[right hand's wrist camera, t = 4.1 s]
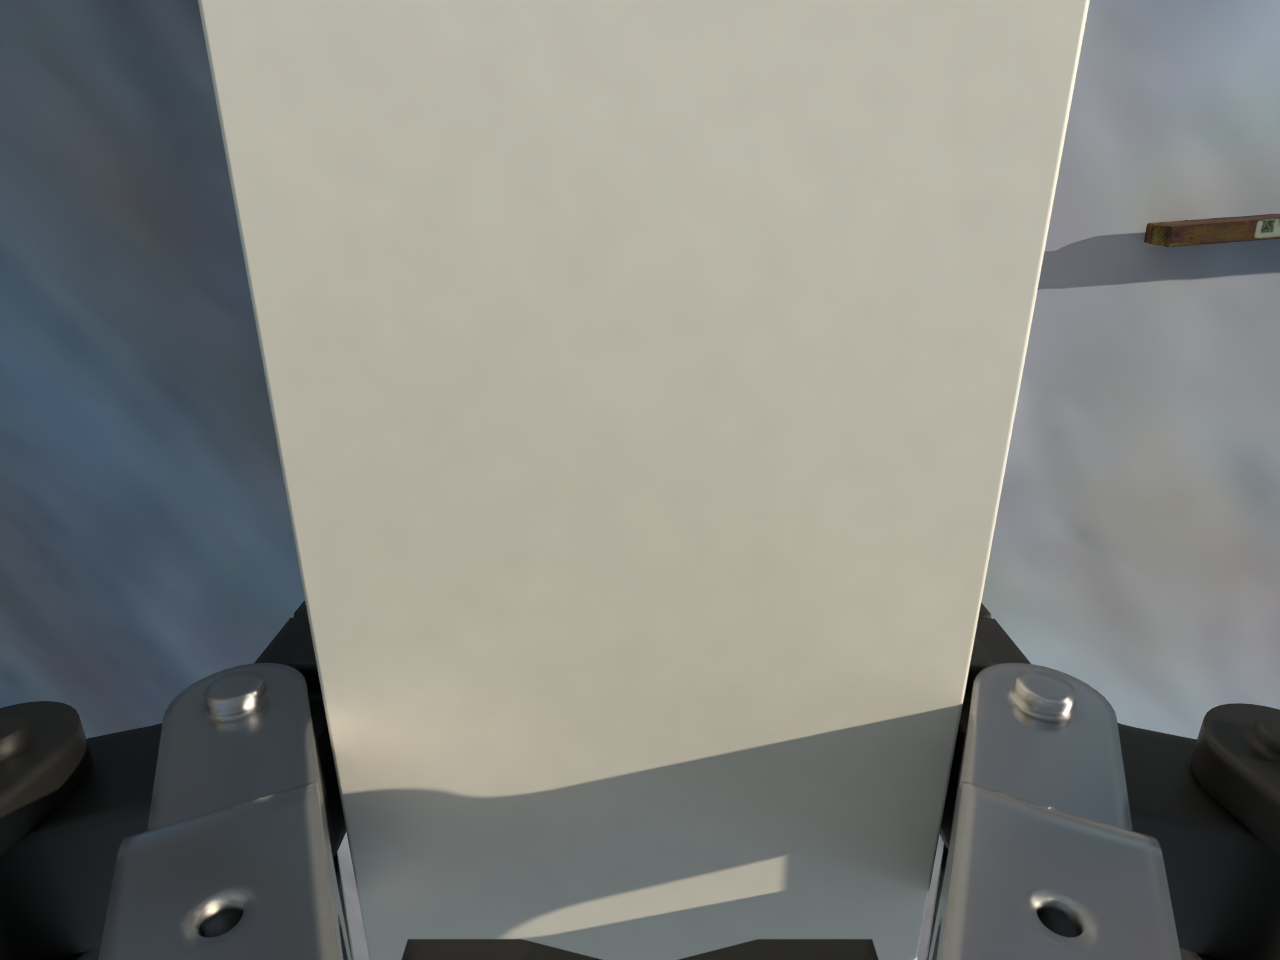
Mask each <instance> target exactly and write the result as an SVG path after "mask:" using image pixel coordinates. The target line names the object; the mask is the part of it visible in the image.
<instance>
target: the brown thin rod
mask: <svg viewBox="0 0 1280 960" xmlns="http://www.w3.org/2000/svg"><path fill="white" fill-rule="evenodd" d="M1277 238H1280V214H1268V215H1255V216H1243V217H1227V218H1212V219H1202V220H1190V221H1188V220H1185V221H1174V222H1159V223H1148V224H1147V228H1146V235H1145V241H1144V242H1147V243H1149V244H1156V245H1163V246H1166V247H1172V246H1186V245H1200V244H1213V243H1227V242H1240V241H1253V240H1265V239H1277Z"/></svg>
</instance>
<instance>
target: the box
mask: <svg viewBox="0 0 1280 960" xmlns="http://www.w3.org/2000/svg"><path fill="white" fill-rule="evenodd" d="M198 4H199V10H200V15H201V21H202V26H203V32H204V37H205V43H206V49H207V54H208V60H209V65H210V71H211V77H212V82H213V88H214V93H215V99H216V105H217V110H218V116H219V121H220V127H221V132H222V138H223V144H224V149H225V155H226V160H227V166H228V172H229V177H230V183H231V188H232V194H233V199H234V205H235V211H236V216H237V222H238V227H239V233H240V239H241V244H242V250H243V255H244V261H245V266H246V272H247V278H248V283H249V289H250V294H251V300H252V306H253V311H254V317H255V322H256V328H257V334H258V339H259V345H260V350H261V356H262V361H263V367H264V373H265V378H266V384H267V389H268V395H269V401H270V406H271V412H272V417H273V423H274V428H275V434H276V440H277V445H278V451H279V456H280V462H281V468H282V473H283V479H284V484H285V490H286V495H287V501H288V507H289V512H290V518H291V523H292V529H293V535H294V540H295V546H296V551H297V557H298V563H299V568H300V574H301V579H302V585H303V590H304V596H305V602H306V607H307V613H308V618H309V624H310V630H311V635H312V641H313V646H314V652H315V657H316V663H317V669H318V674H319V680H320V685H321V691H322V697H323V702H324V708H325V713H326V719H327V724H328V730H329V736H330V741H331V747H332V752H333V758H334V764H335V769H336V775H337V780H338V786H339V792H340V797H341V803H342V808H343V814H344V819H345V825H346V831H347V836H348V842H349V847H350V853H351V859H352V864H353V870H354V875H355V881H356V886H357V892H358V898H359V903H360V909H361V914H362V920H363V926H364V931H365V937H366V942H367V948H368V954H369V959H370V960H402V957H403V953H404V950H405V947H406V943H407V940H408V939H523V940H527V941H531V942H535V943H539V944H543V945H547V946H551V947H555V948H559V949H563V950H566V951H570V952H574V953H578V954H582V955H586V956H590V957H594V958H598V959H602V960H678V959H682V958H686V957H690V956H694V955H698V954H702V953H706V952H710V951H714V950H717V949H721V948H725V947H729V946H733V945H737V944H741V943H745V942H749V941H753V940H757V939H872V940H873V943H874V947H875V950H876V953H877V957H878V960H917V955H918V950H919V944H920V939H921V933H922V927H923V922H924V916H925V911H926V905H927V900H928V894H929V889H930V883H931V878H932V872H933V866H934V861H935V855H936V850H937V844H938V839H939V833H940V828H941V822H942V816H943V811H944V805H945V800H946V794H947V789H948V783H949V778H950V772H951V766H952V761H953V755H954V750H955V744H956V739H957V733H958V728H959V722H960V716H961V711H962V705H963V700H964V694H965V689H966V683H967V678H968V672H969V667H970V661H971V655H972V650H973V644H974V639H975V633H976V628H977V622H978V617H979V611H980V605H981V600H982V594H983V589H984V583H985V578H986V572H987V567H988V561H989V555H990V550H991V544H992V539H993V533H994V528H995V522H996V517H997V511H998V505H999V500H1000V494H1001V489H1002V483H1003V478H1004V472H1005V467H1006V461H1007V455H1008V450H1009V444H1010V439H1011V433H1012V428H1013V422H1014V417H1015V411H1016V406H1017V400H1018V394H1019V389H1020V383H1021V378H1022V372H1023V367H1024V361H1025V356H1026V350H1027V344H1028V339H1029V333H1030V328H1031V322H1032V317H1033V311H1034V306H1035V300H1036V294H1037V289H1038V283H1039V278H1040V272H1041V267H1042V261H1043V256H1044V250H1045V244H1046V239H1047V233H1048V228H1049V222H1050V217H1051V211H1052V206H1053V200H1054V195H1055V189H1056V183H1057V178H1058V172H1059V167H1060V161H1061V156H1062V150H1063V145H1064V139H1065V133H1066V128H1067V122H1068V117H1069V111H1070V106H1071V100H1072V95H1073V89H1074V83H1075V78H1076V72H1077V67H1078V61H1079V56H1080V50H1081V45H1082V39H1083V33H1084V28H1085V22H1086V17H1087V11H1088V6H1089V0H198Z"/></svg>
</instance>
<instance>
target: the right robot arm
mask: <svg viewBox="0 0 1280 960" xmlns="http://www.w3.org/2000/svg"><path fill="white" fill-rule="evenodd" d="M345 833H346V825H345V819H344V814H343V808H342V803H341V797H340V792H339V786H338V780H337V775H336V769H335V764H334V758H333V752H332V747H331V741H330V736H329V730H328V724H327V719H326V713H325V708H324V702H323V697H322V691H321V685H320V680H319V674H318V669H317V663H316V657H315V652H314V646H313V641H312V635H311V630H310V624H309V618H308V613H307V607H306V602H305V601H304V602H303V603H302V604H301V606H300V607H299V608H298V609H297V611H296V612H295V613H294V618H290V619H289V621H288V622H287V623H286V624H285V626H284V627H283V628H282V629H281V631H280V632H279V633H278V634H277V636H276V637H275V638H274V639H273V640H272V642H271V643H270V644H269V645H268V647H267V648H266V649H265V650H264V652H263V653H262V654H261V655H260V657H259V658H258V659H257V660H256V662H255V663H254V664H247V665H242V666H237V667H233V668H229V669H226V670H223V671H220V672H217V673H214V674H212V675H210V676H208V677H205V678H203V679H201V680H200V681H198V682H196V683H194V684H192V685H191V686H189V687H188V688H187V689H185V690H184V691H182V692H181V693H180V694H179V695H178V696H177V697H176V698H175V699H174V700H173V701H172V702H171V703H170V704H169V706H168V708H167V709H166V711H165V714H164V717H163V723H162V724H157V725H153V726H149V727H144V728H139V729H133V730H128V731H123V732H118V733H113V734H108V735H103V736H98V737H93V738H88V739H86V736H85V733H84V730H83V727H82V724H81V721H80V718H79V715H78V713H77V711H76V710H75V709H74V708H72V707H71V706H69V705H66V704H64V703H59V702H50V701H40V702H28V703H22V704H16V705H12V706H8V707H4V708H0V960H354V955H353V948H352V941H351V935H350V928H349V921H348V914H347V908H346V901H345V894H344V887H343V881H342V874H341V868H340V862H339V857H338V849H339V846H340V844H341V842H342V840H343V838H344V835H345ZM940 835H941V837H942V839H943V842H944V846H943V851H942V857H941V862H940V868H939V874H938V880H937V887H936V894H935V901H934V907H933V914H932V921H931V928H930V934H929V941H928V948H927V955H926V960H1280V710H1279V709H1274V708H1270V707H1266V706H1259V705H1253V704H1226V705H1220V706H1217V707H1215V708H1212V709H1211V710H1210V711H1208V712H1207V714H1206V715H1205V717H1204V720H1203V723H1202V726H1201V729H1200V732H1199V735H1198V739H1197V740H1196V739H1190V738H1185V737H1180V736H1175V735H1170V734H1165V733H1160V732H1155V731H1150V730H1145V729H1140V728H1135V727H1131V726H1127V725H1122V724H1119V723H1117V717H1116V714H1115V711H1114V709H1113V708H1112V706H1111V704H1110V703H1109V702H1108V701H1107V700H1106V699H1105V698H1104V697H1103V696H1102V695H1101V694H1100V693H1099V692H1098V691H1096V690H1095V689H1093V688H1092V687H1091V686H1089V685H1088V684H1086V683H1084V682H1082V681H1080V680H1079V679H1077V678H1075V677H1072V676H1070V675H1068V674H1066V673H1063V672H1060V671H1057V670H1054V669H1051V668H1047V667H1043V666H1038V665H1033V664H1031V663H1030V662H1029V661H1028V660H1027V658H1026V657H1025V656H1024V655H1023V653H1022V652H1021V651H1020V650H1019V648H1018V647H1017V646H1016V645H1015V643H1014V642H1013V641H1012V640H1011V639H1010V637H1009V636H1008V635H1007V634H1006V632H1005V631H1004V630H1003V629H1002V627H1001V626H1000V625H999V624H998V623H997V621H996V620H995V619H991V614H990V613H989V611H988V610H987V609H986V608H985V607H984V605H983V604H982V603H981V605H980V611H979V617H978V622H977V628H976V633H975V639H974V644H973V650H972V655H971V661H970V667H969V672H968V678H967V683H966V689H965V694H964V700H963V705H962V711H961V716H960V722H959V728H958V733H957V739H956V744H955V750H954V755H953V761H952V766H951V772H950V778H949V783H948V789H947V794H946V800H945V805H944V811H943V816H942V822H941V828H940ZM402 960H602V959H598V958H594V957H590V956H586V955H582V954H578V953H574V952H570V951H566V950H563V949H559V948H555V947H551V946H547V945H543V944H539V943H535V942H531V941H527V940H523V939H408V940H407V943H406V947H405V950H404V953H403V957H402ZM678 960H878V957H877V953H876V950H875V947H874V943H873V940H872V939H757V940H753V941H749V942H745V943H741V944H737V945H733V946H729V947H725V948H721V949H717V950H714V951H710V952H706V953H702V954H698V955H694V956H690V957H686V958H682V959H678Z"/></svg>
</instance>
